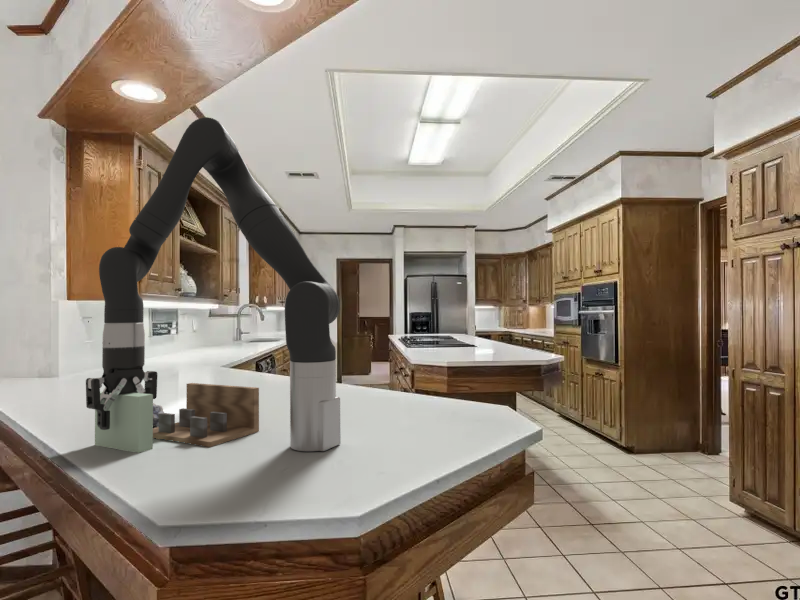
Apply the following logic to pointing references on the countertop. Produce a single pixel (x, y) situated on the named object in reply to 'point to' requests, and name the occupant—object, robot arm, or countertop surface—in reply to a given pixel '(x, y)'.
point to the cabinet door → (128, 424)
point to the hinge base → (212, 415)
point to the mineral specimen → (156, 414)
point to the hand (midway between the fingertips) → (123, 425)
